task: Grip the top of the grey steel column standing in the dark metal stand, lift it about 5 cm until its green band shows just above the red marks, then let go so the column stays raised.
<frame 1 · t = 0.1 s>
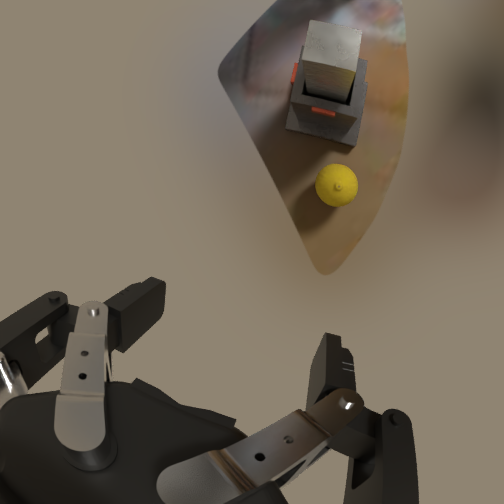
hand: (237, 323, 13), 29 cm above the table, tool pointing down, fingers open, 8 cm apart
lemon: (334, 184, 37), on the table
column: (329, 81, 24), point 11 cm above the table, slide at 0.0 cm
stand base: (327, 106, 34), on the table
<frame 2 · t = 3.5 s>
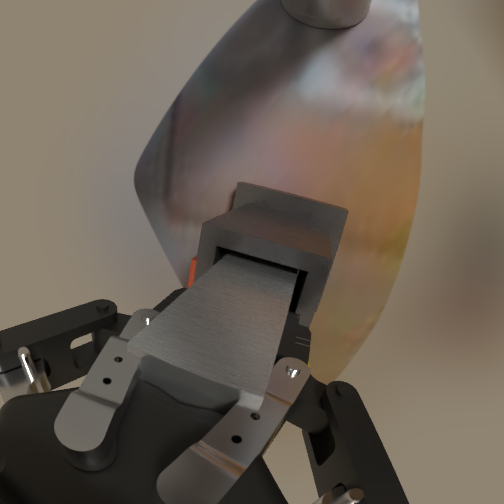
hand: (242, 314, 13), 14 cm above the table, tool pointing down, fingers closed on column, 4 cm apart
column: (255, 293, 16), point 11 cm above the table, slide at 0.0 cm, touching gripper
stand base: (281, 245, 26), on the table
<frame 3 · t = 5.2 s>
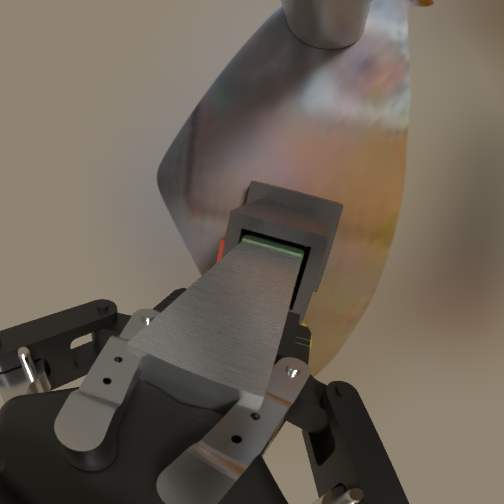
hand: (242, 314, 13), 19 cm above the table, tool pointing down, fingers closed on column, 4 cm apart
column: (255, 293, 16), point 16 cm above the table, slide at 4.9 cm, touching gripper
stand base: (287, 234, 31), on the table
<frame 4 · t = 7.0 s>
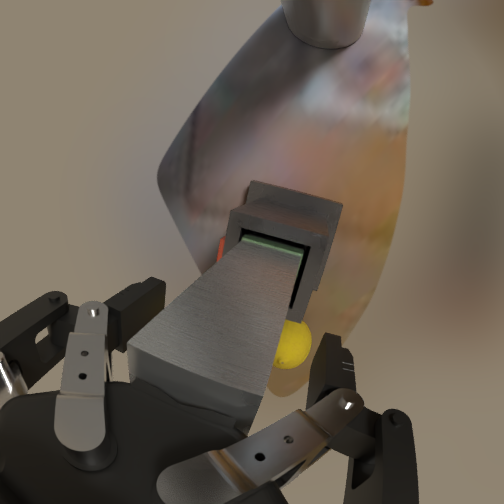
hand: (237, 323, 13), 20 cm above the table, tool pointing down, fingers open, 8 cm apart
lemon: (291, 323, 34), on the table
column: (254, 293, 16), point 16 cm above the table, slide at 5.0 cm
stand base: (287, 234, 31), on the table
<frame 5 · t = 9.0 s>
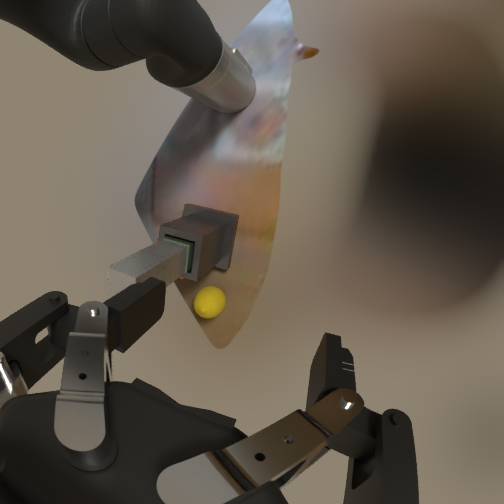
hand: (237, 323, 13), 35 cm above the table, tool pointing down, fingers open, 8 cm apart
lemon: (217, 292, 54), on the table
column: (163, 262, 36), point 16 cm above the table, slide at 5.0 cm
stand base: (208, 235, 51), on the table
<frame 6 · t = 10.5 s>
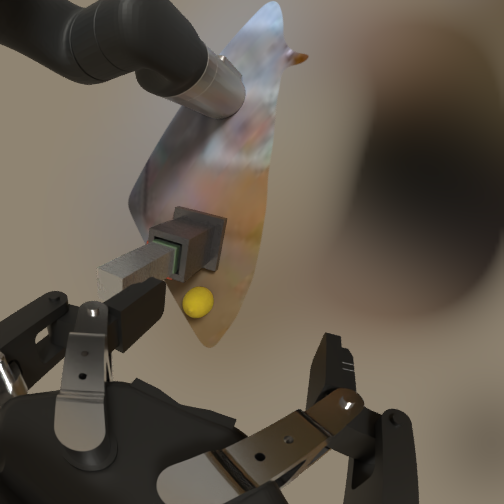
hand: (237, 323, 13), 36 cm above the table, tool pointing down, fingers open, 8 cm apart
lemon: (206, 293, 55), on the table
column: (151, 263, 37), point 16 cm above the table, slide at 5.0 cm
stand base: (198, 237, 52), on the table
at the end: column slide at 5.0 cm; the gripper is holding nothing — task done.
